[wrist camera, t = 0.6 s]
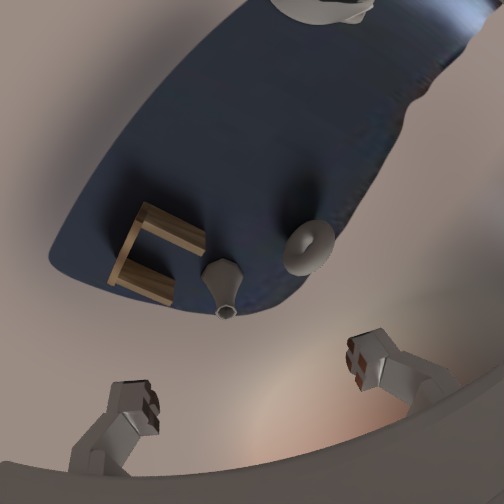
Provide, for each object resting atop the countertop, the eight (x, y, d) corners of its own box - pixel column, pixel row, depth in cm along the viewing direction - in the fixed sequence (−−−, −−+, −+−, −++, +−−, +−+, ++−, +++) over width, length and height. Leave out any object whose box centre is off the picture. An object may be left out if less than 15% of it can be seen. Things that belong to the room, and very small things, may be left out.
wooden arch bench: (144, 200, 45) (135, 219, 40) (205, 231, 50) (205, 254, 44) (116, 259, 50) (107, 283, 44) (172, 284, 54) (169, 310, 48)
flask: (193, 275, 54) (192, 313, 46) (222, 250, 52) (226, 286, 44) (221, 297, 58) (225, 335, 49) (250, 274, 56) (259, 311, 47)
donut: (313, 205, 50) (335, 234, 42) (326, 217, 52) (349, 247, 43) (272, 247, 53) (285, 281, 45) (286, 257, 55) (301, 292, 46)
